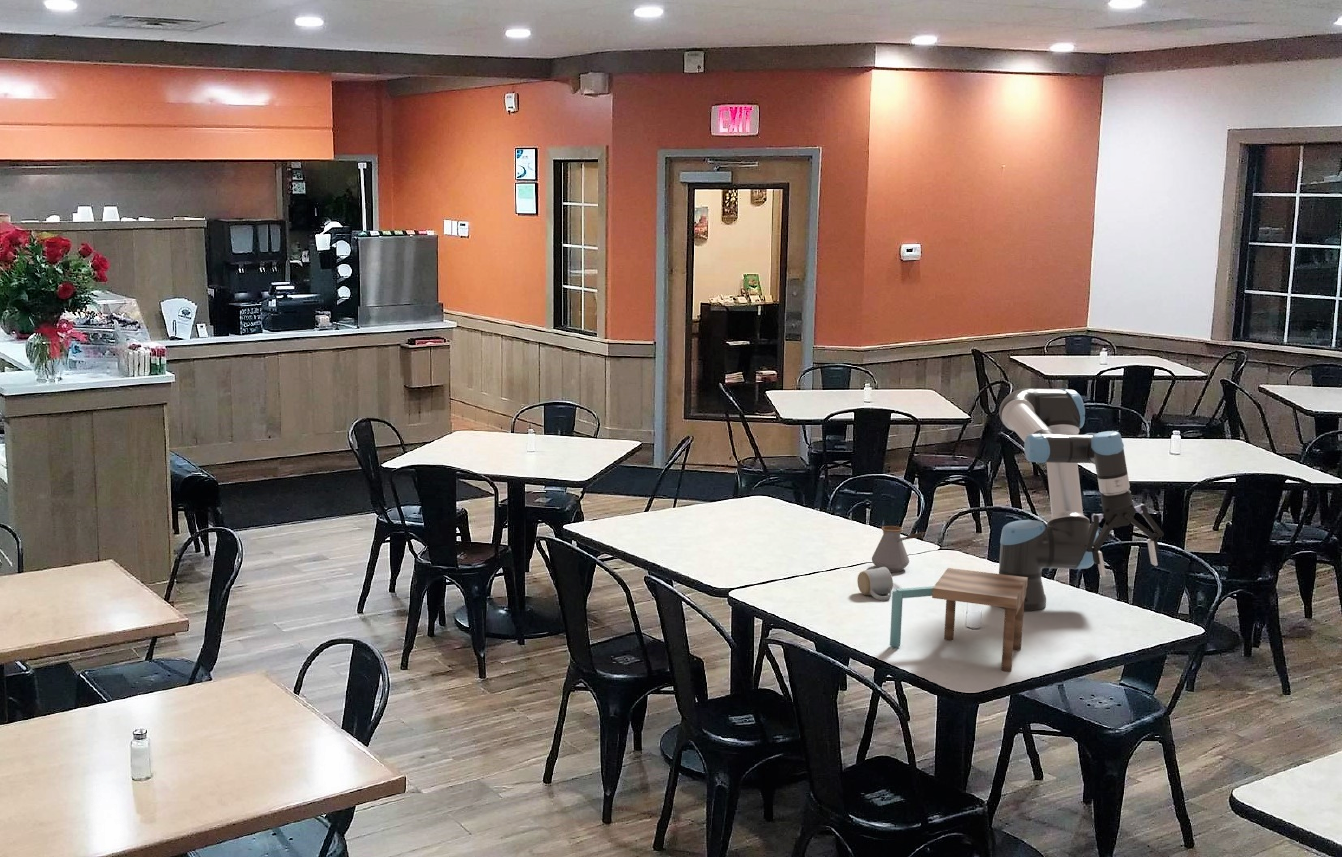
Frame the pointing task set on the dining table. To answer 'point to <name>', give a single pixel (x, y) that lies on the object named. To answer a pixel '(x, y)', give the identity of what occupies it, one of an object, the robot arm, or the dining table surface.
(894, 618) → the folding leg
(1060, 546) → the robot arm
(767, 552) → the dining table surface
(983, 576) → the stool
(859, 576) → the ceramic mug
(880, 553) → the coffee pot
